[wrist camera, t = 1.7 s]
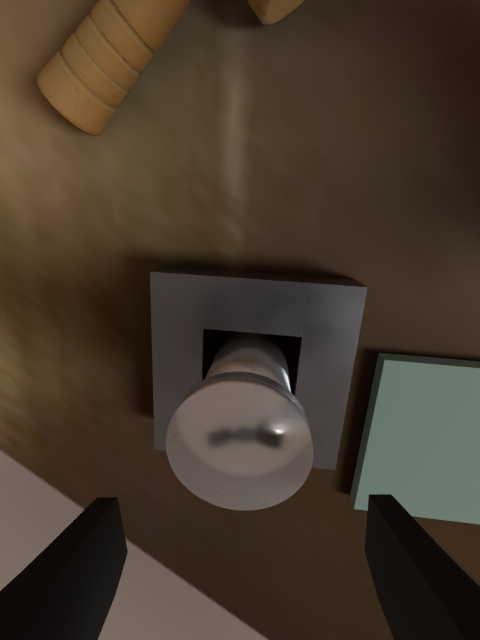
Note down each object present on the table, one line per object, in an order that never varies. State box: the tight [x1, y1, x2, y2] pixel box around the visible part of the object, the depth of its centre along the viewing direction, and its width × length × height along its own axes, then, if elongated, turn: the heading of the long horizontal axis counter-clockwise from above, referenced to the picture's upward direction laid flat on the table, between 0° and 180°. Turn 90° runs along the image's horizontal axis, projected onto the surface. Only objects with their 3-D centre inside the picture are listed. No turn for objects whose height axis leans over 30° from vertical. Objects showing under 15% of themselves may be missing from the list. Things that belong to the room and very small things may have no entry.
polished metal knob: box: [166, 331, 314, 510], centre depth 14 cm, size 5×5×8 cm
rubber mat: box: [350, 353, 480, 524], centre depth 18 cm, size 10×10×1 cm
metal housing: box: [150, 266, 367, 470], centre depth 17 cm, size 10×10×2 cm
